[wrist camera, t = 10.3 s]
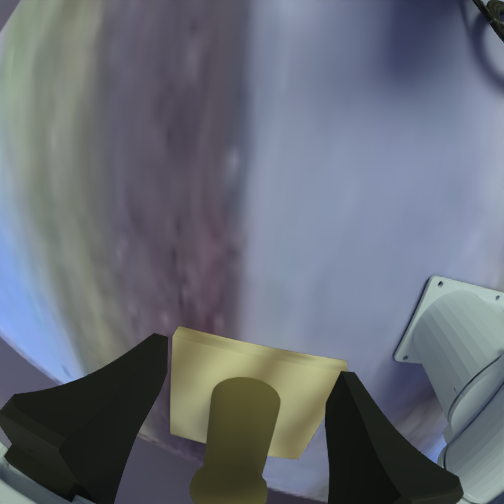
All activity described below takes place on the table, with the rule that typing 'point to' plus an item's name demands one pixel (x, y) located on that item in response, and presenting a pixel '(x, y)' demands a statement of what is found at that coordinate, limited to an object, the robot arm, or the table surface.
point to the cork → (237, 443)
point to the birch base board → (253, 366)
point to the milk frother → (493, 15)
